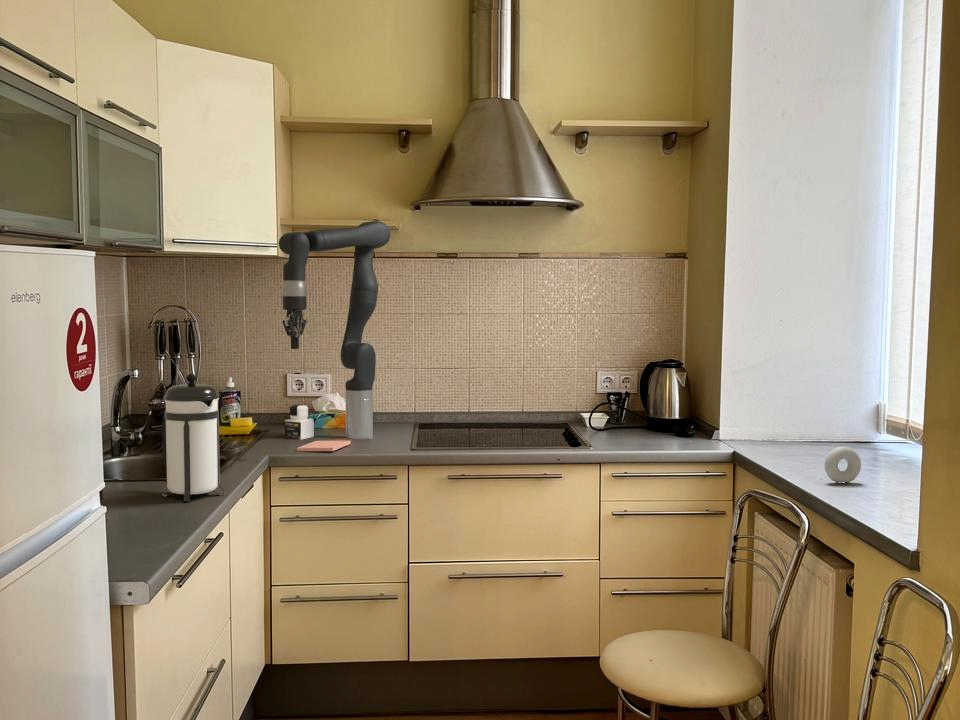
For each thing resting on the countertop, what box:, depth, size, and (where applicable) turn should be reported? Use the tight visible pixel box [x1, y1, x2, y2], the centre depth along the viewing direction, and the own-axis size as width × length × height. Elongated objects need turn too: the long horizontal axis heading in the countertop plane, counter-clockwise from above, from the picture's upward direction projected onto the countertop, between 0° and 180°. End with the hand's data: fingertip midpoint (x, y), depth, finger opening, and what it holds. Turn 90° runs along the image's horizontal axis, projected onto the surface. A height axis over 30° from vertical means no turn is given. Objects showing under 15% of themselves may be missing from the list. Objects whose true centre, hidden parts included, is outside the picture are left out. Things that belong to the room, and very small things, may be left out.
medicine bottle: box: [283, 404, 315, 441], centre depth 292 cm, size 7×7×12 cm
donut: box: [824, 446, 862, 483], centre depth 229 cm, size 10×4×10 cm, turn 98°
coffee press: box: [160, 373, 226, 503], centre depth 210 cm, size 17×16×30 cm
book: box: [296, 440, 351, 452], centre depth 271 cm, size 14×1×12 cm
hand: (294, 348), depth 277 cm, fingers closed
